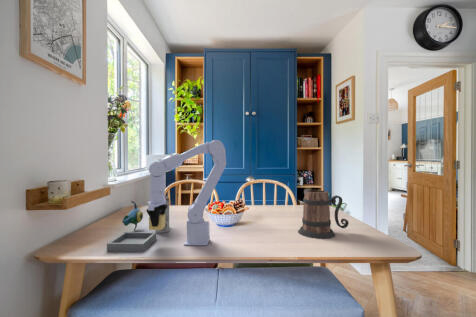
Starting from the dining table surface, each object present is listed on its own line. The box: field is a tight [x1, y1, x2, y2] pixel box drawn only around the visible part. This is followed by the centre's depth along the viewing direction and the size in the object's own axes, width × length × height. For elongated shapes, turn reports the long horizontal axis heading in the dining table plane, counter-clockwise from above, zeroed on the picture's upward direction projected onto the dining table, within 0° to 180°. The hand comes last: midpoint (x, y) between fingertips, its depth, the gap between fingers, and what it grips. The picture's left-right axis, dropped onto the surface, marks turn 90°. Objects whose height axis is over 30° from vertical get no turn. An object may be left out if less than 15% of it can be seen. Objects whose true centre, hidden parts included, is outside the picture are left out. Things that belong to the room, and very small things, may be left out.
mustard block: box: [148, 214, 165, 231], centre depth 98 cm, size 5×5×5 cm
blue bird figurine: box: [121, 200, 144, 231], centre depth 115 cm, size 13×12×6 cm
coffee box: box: [155, 195, 170, 234], centre depth 118 cm, size 9×6×16 cm
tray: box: [106, 231, 157, 252], centre depth 98 cm, size 14×14×3 cm
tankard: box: [297, 189, 349, 240], centre depth 113 cm, size 24×17×20 cm
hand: (157, 224), depth 98 cm, fingers closed on mustard block, 5 cm apart
